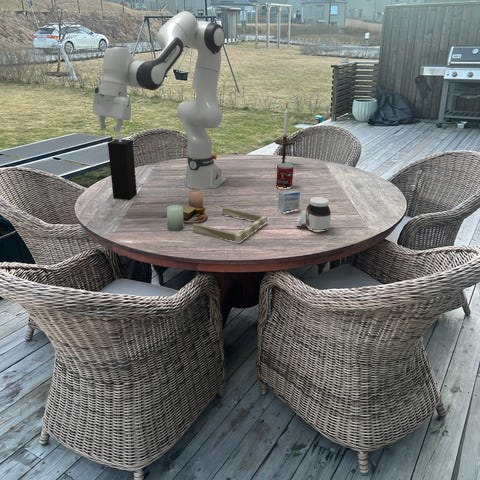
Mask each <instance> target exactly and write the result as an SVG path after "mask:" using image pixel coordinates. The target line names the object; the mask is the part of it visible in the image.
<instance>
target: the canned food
mask: <svg viewBox="0 0 480 480" xmlns="http://www.w3.org/2000/svg"><path fill="white" fill-rule="evenodd" d="M280 163H281V164H278V163H277V164H278V165H277V168H276V183H275V185H276V187H277V186H278V187H283V188H287V187H291V186H292V187H293V183H294V182H293V181H294V180H293V179H294V164H291V163H288V162H287V163H286V162H285V163H282V162H280Z"/></svg>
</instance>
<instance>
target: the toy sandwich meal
mask: <svg viewBox="0 0 480 480" xmlns="http://www.w3.org/2000/svg"><path fill="white" fill-rule="evenodd" d="M179 205H180V206H182V207H183V220H184V224H189V225H191V224H192V225H193V224H195V223H196V224H200V223H203V222H204V221H206V220H207V218H208V214H207V213H206V212H205V211H206V207H203V208H194V207H192V206H189V204H187V205H186V204H184V203H180V204H179Z"/></svg>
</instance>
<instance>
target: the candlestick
mask: <svg viewBox="0 0 480 480" xmlns="http://www.w3.org/2000/svg"><path fill="white" fill-rule="evenodd" d="M285 106H286V108H285V110H284V122H283V135H281V137H282V138H280V139H279V138H278V139H275V140H274V144H275V145H279V146H282V152H281V156H282V157H281V160H282V162H281V163H286V159H287V157H286V156H287V152H286V148H287V146H294V145H295V143H296V141H295V140H293V139H290V138H289V136H288V125H289V122H288V121H289V110H288V109H289V107H288V103H286V104H285ZM288 138H289V139H288Z"/></svg>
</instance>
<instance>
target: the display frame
mask: <svg viewBox="0 0 480 480" xmlns="http://www.w3.org/2000/svg"><path fill="white" fill-rule="evenodd" d="M221 210H222V211H221V215H222V214H223V215H222V216H224V215H229V216H234V217H239V218H244V219H250V220H254V221H255V222H252V223H251V224H250V225H248V226H247V227H245V228H244V229H242V230H240V231H238V233H236V232H231V231H228V230H223V229H219V228H215V227H211V226H209V225H208V226H207V225H203V224H200V223H195V224H192V233H195V234H199V235H202V234H204V235H203V236H206V235H208V236H207V237H210V236H212V237H211V238H214V237H217V238H216V239H218V238H222V239H227V240H232V241H236V242H240V241H241V240H243V239H244V238H245V237H247V236H248V235H250V234H251V233H252V232H254V231H255V230H256V229H258V228H259V227H260V226H261V225H263V224H264V223H265V222H267V223H268V216H267V215H262V214H257V213H253V212H249V211H244V210H239V209H234V208H231V207H226V206H223V207H222V209H221ZM229 216H228V217H229ZM222 239H221V240H222Z"/></svg>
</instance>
